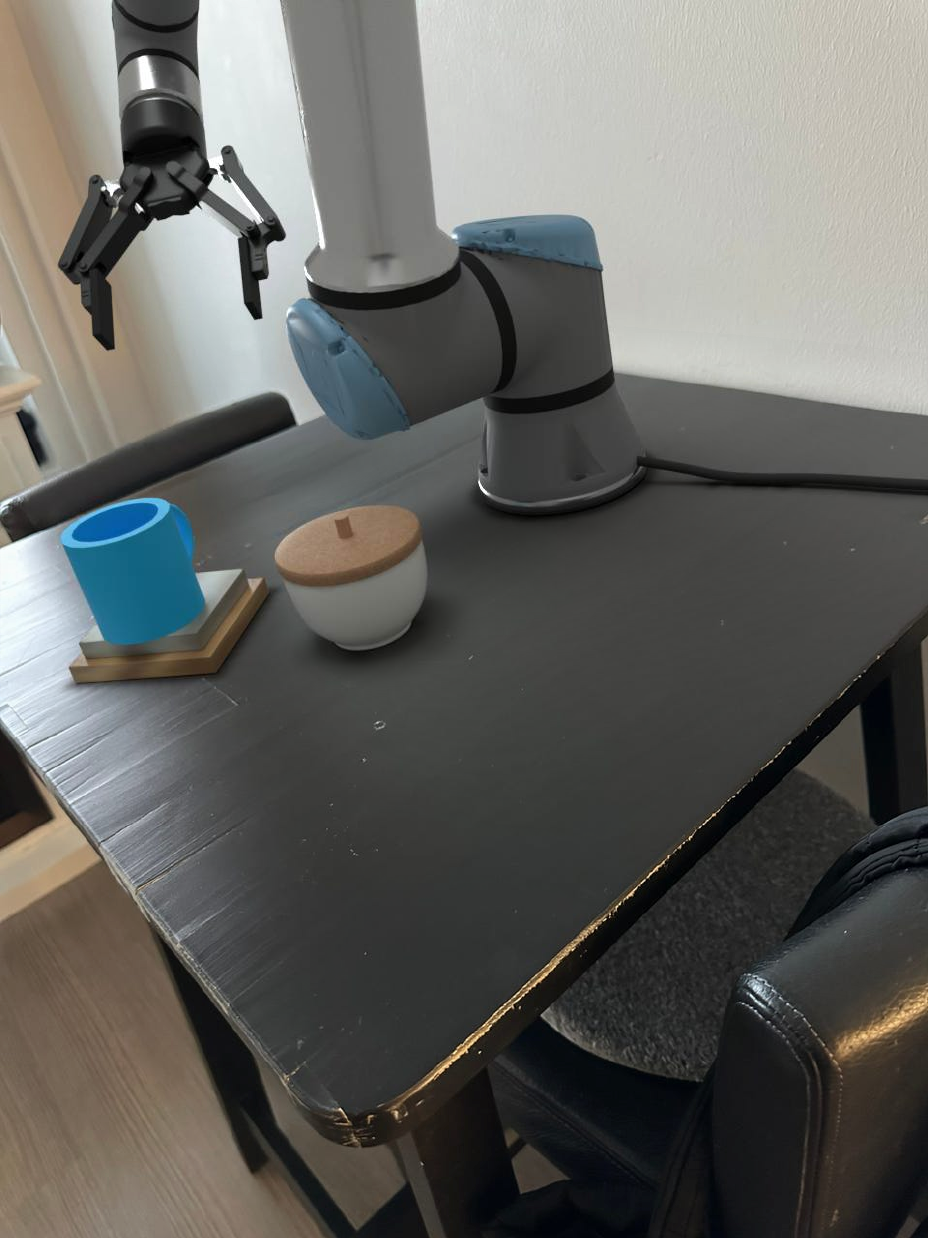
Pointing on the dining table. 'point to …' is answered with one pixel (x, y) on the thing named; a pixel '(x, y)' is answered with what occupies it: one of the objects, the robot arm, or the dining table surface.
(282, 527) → the dining table surface
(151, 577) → the mug
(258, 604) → the pad stack
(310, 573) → the trinket box
